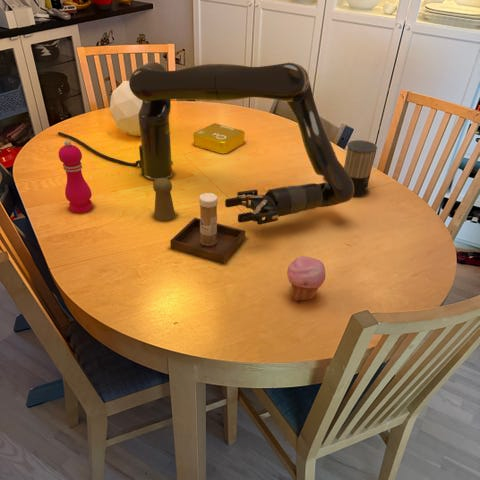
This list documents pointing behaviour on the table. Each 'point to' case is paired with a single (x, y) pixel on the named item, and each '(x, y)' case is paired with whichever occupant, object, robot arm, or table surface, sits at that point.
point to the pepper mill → (75, 179)
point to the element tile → (219, 138)
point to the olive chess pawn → (163, 200)
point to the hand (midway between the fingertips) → (231, 210)
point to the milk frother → (360, 164)
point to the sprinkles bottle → (208, 219)
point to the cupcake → (305, 277)
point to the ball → (125, 109)
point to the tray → (219, 252)
